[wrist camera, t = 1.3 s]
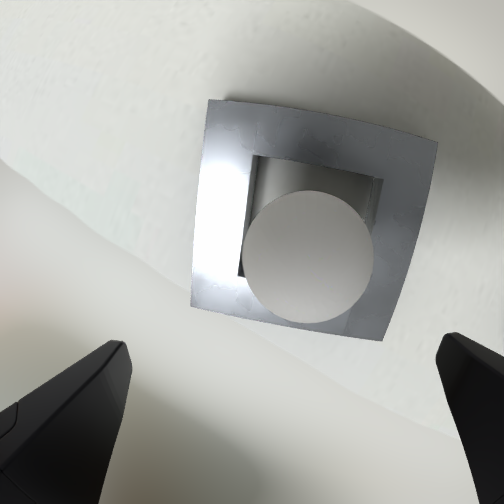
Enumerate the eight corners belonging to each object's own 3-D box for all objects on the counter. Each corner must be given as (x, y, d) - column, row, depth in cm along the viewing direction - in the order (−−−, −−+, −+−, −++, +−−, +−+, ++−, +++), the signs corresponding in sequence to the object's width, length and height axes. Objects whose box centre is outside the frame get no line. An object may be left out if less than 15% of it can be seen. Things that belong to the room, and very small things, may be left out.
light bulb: (284, 160, 19) (264, 176, 10) (366, 198, 19) (415, 249, 10) (250, 240, 22) (207, 315, 12) (327, 274, 21) (338, 368, 12)
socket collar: (423, 141, 17) (437, 142, 15) (376, 322, 22) (381, 341, 20) (219, 104, 19) (208, 99, 16) (201, 290, 24) (190, 306, 21)
